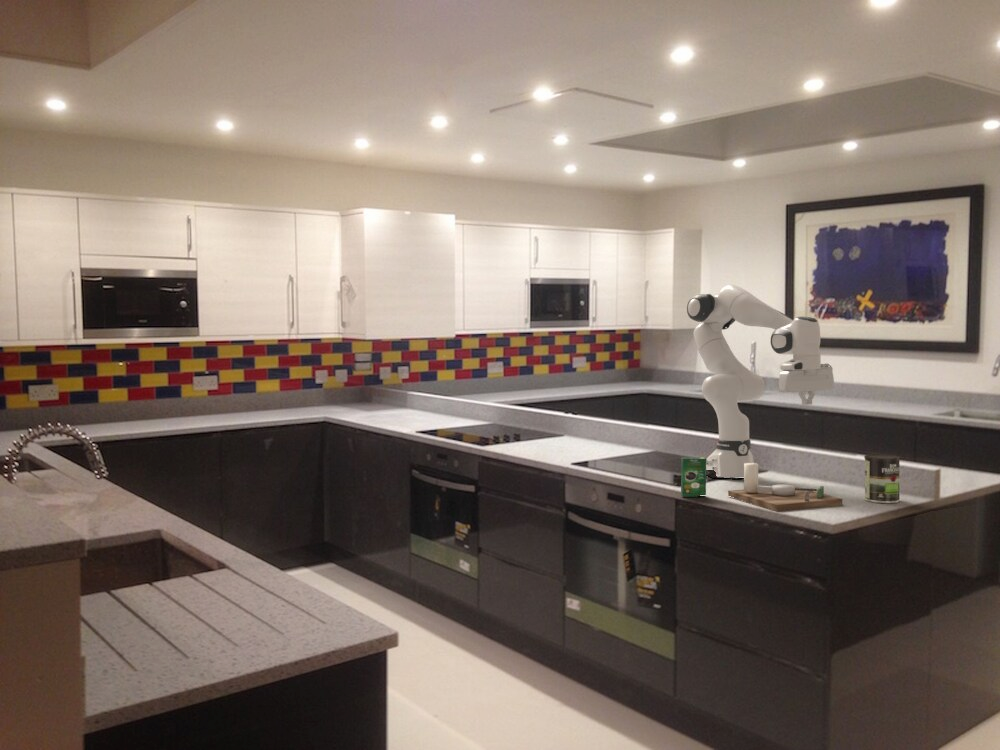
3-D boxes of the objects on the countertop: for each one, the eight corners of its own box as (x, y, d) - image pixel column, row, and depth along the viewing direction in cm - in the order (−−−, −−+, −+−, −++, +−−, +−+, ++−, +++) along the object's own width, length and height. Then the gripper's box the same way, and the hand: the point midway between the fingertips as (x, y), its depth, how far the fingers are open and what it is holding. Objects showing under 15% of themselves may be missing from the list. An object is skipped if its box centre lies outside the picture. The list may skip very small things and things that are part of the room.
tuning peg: (742, 493, 275) (742, 465, 275) (745, 489, 282) (745, 462, 281) (816, 497, 266) (815, 468, 266) (817, 493, 273) (817, 464, 272)
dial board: (728, 496, 282) (728, 481, 282) (789, 491, 290) (789, 476, 290) (776, 511, 258) (776, 495, 258) (842, 505, 265) (842, 489, 265)
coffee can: (907, 502, 267) (907, 457, 267) (879, 504, 265) (879, 459, 264) (884, 496, 277) (883, 453, 277) (857, 498, 274) (857, 455, 274)
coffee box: (705, 495, 285) (704, 456, 285) (706, 497, 283) (706, 457, 282) (680, 496, 286) (680, 457, 285) (682, 497, 283) (681, 458, 282)
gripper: (825, 363, 298) (826, 402, 298) (776, 364, 291) (776, 405, 292) (838, 363, 292) (838, 403, 292) (787, 365, 285) (787, 406, 286)
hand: (807, 404), depth 292 cm, fingers closed
